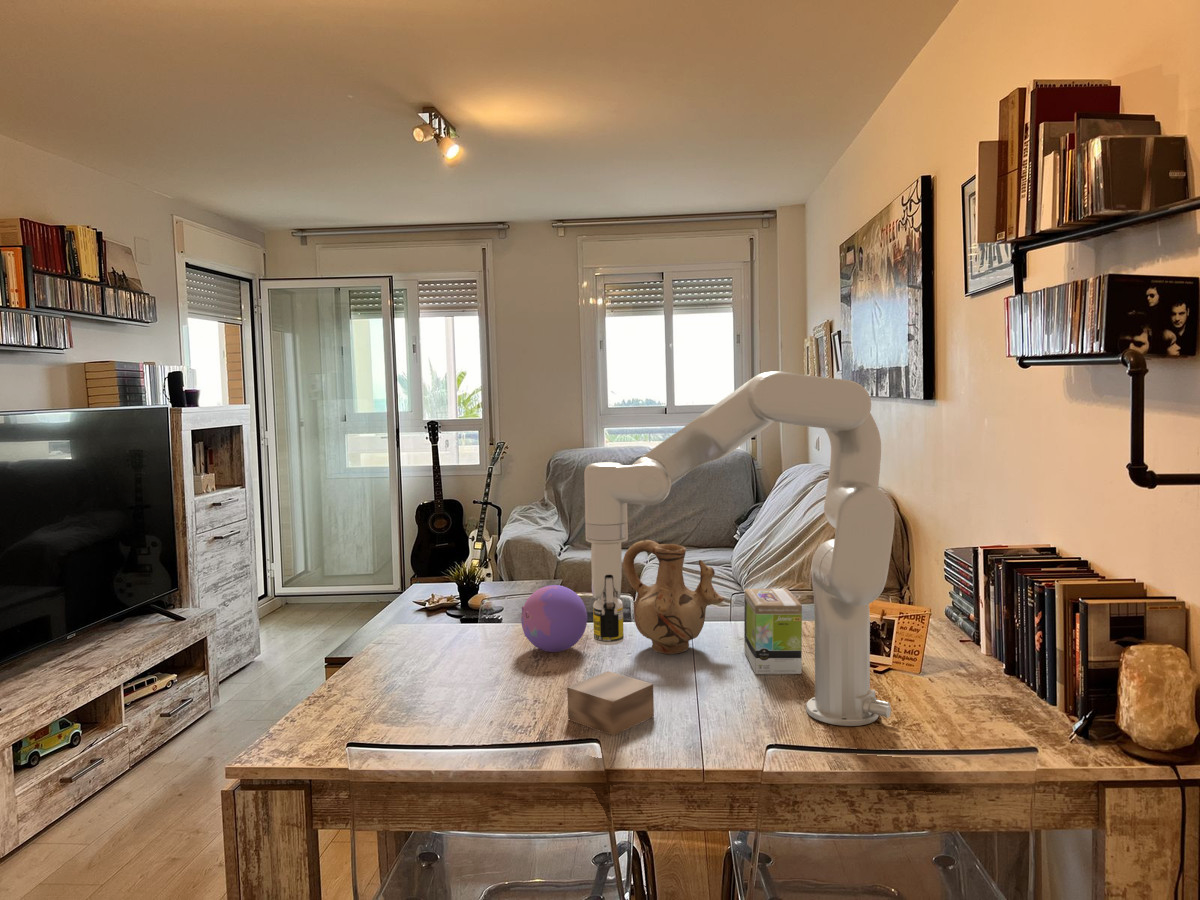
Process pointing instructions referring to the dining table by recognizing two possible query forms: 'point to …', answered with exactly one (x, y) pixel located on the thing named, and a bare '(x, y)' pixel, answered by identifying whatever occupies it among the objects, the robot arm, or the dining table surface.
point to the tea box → (773, 631)
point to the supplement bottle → (596, 619)
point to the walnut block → (610, 702)
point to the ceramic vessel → (669, 598)
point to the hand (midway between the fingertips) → (608, 630)
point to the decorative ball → (554, 618)
